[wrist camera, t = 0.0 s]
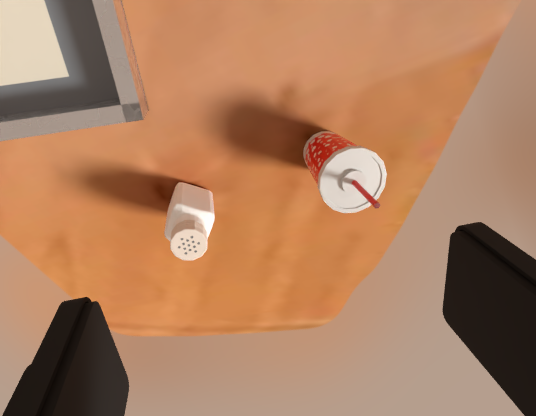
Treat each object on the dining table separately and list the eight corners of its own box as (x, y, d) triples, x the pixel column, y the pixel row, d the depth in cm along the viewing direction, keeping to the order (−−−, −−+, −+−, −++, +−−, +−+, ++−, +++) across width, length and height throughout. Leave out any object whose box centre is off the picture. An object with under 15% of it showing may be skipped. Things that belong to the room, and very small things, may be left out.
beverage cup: (360, 157, 43) (426, 212, 31) (314, 188, 44) (360, 254, 31) (334, 111, 41) (395, 151, 28) (285, 145, 41) (323, 198, 29)
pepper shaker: (177, 178, 41) (172, 219, 32) (214, 189, 42) (218, 231, 34) (166, 211, 42) (159, 258, 34) (202, 221, 43) (203, 269, 35)
